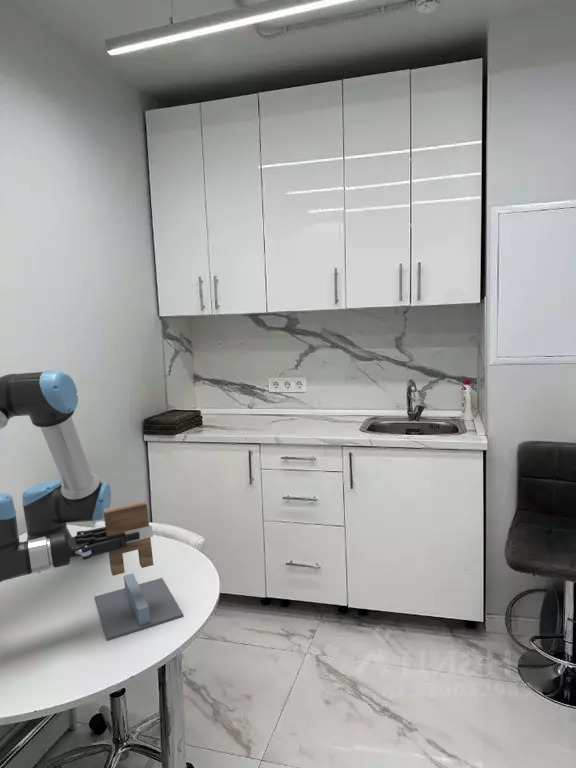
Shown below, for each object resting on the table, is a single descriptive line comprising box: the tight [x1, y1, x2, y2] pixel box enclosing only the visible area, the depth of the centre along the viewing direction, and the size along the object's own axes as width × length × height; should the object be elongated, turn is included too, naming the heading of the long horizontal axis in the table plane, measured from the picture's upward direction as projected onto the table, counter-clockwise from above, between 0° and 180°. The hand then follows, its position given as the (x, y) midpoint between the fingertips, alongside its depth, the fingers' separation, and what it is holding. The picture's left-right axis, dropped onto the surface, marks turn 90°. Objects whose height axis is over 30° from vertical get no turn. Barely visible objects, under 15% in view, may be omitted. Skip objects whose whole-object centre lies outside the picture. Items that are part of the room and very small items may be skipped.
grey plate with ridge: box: [94, 573, 184, 641], centre depth 138 cm, size 22×18×5 cm
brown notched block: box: [103, 500, 154, 577], centre depth 136 cm, size 3×10×16 cm, turn 116°
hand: (150, 528), depth 138 cm, fingers closed on brown notched block, 3 cm apart
